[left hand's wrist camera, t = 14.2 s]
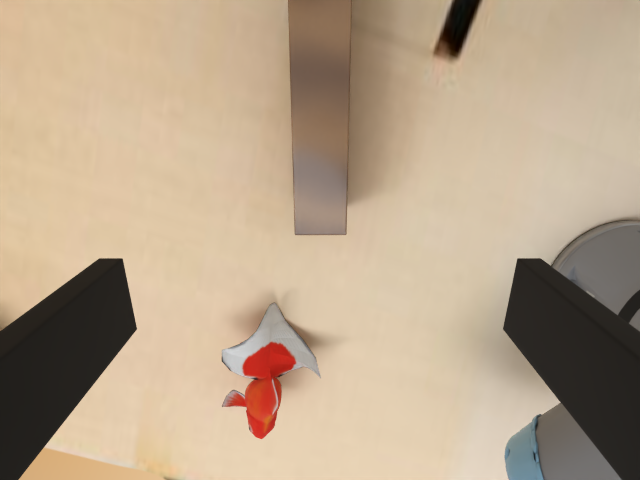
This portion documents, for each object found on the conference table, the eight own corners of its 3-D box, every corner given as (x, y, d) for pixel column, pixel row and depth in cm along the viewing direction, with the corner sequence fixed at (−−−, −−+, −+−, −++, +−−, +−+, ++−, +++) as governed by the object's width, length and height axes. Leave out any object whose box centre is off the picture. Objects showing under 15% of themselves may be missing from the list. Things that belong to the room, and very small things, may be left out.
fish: (185, 410, 45) (201, 460, 36) (232, 285, 46) (259, 303, 37) (265, 420, 50) (297, 466, 41) (305, 307, 51) (344, 328, 42)
